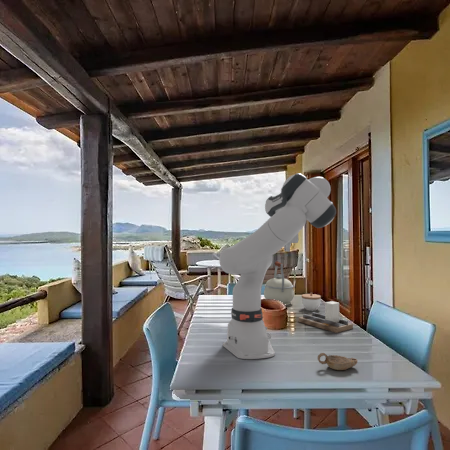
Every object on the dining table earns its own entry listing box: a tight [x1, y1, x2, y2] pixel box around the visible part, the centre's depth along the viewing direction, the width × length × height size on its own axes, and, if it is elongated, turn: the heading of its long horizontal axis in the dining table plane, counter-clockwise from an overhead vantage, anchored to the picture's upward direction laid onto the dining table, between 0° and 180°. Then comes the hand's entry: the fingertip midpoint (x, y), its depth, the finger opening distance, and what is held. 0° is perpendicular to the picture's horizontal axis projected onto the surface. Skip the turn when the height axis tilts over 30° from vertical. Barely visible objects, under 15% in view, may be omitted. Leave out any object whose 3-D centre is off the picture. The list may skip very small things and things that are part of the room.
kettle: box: [263, 261, 295, 306], centre depth 213 cm, size 25×18×25 cm
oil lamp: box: [317, 352, 358, 371], centre depth 114 cm, size 13×8×5 cm, turn 90°
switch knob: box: [324, 300, 340, 323], centre depth 161 cm, size 4×5×9 cm
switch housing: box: [298, 311, 354, 334], centre depth 164 cm, size 22×12×4 cm, turn 36°
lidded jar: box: [301, 292, 322, 312], centre depth 196 cm, size 11×11×9 cm
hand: (287, 251), depth 174 cm, fingers closed
